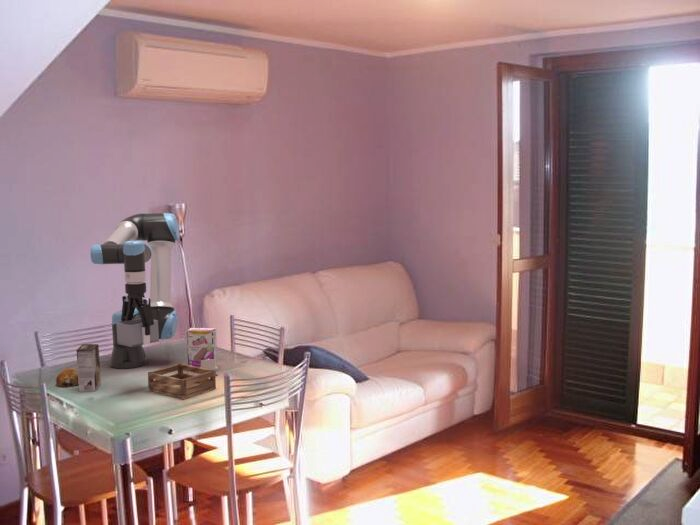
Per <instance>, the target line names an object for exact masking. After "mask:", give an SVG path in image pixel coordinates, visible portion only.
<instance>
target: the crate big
mask: <svg viewBox="0 0 700 525" xmlns="http://www.w3.org/2000/svg"><path fill="white" fill-rule="evenodd" d="M184 371H187V372H190V373H191V372H192V373H195V374H197V375H193V374H189V373H184ZM173 372H177V373H174V374H171V375H167V374H169V373H173ZM147 384H148V385H147V386H148V392H153V393H157V394H161V395H165V396H169V397H174V398H178V399H182V400H185V399H189V398H191V397H195V396H197V395H200V394H203V393H207V392H209V391H212V390H214V389H217V387H216V386H217V385H216V369H215V370H209V369H205V368H200V367H195V366H190V365H188V364H185V363H183V362H179V363H177V364H173V365H171V366H167V367H163V368H160V369H157V370H154V371H148V372H147Z"/></svg>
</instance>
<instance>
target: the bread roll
mask: <svg viewBox="0 0 700 525" xmlns="http://www.w3.org/2000/svg"><path fill="white" fill-rule="evenodd" d="M55 380H56V382H55V383H56V385H57V386H58V387H60V386H63V387H62V388H70V386H71V387H77V386H79V383H78V368H74V367H67V368H64V369H62V370H61V371H60V372H59V373H58V375H56V379H55Z"/></svg>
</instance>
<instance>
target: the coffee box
mask: <svg viewBox="0 0 700 525" xmlns="http://www.w3.org/2000/svg"><path fill="white" fill-rule="evenodd" d="M99 346H100V345H99V344H98V343H95V344H94V343H93V344H92V343H88V344H87V343H86V344H83V343H82V344H81V345H80V346H79V347H78V348H77V349H76V362H77V363H76V364H77V370H78V383H79V385H78V393H79V392H80V393H81V392H82V393H83V392H96V391H97V390H98V389H99V387H100V386H101V385H102V379H101V378H102V377H101V363H100V348H99Z"/></svg>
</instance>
